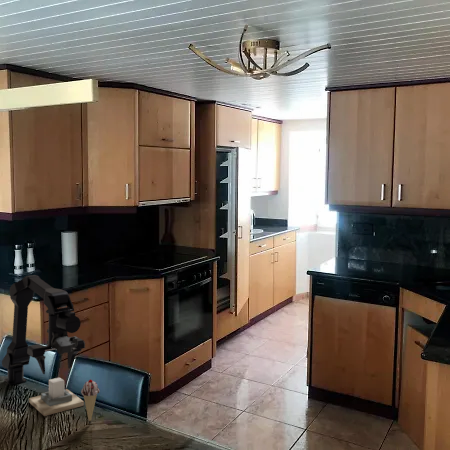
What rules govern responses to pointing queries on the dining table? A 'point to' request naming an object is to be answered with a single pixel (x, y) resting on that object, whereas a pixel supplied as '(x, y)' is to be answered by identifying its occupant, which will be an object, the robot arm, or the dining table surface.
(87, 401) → the ice cream cone
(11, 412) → the dining table surface
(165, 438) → the dining table surface
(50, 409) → the socket holder
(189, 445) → the dining table surface
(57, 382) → the connector plug
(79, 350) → the robot arm
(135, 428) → the dining table surface
